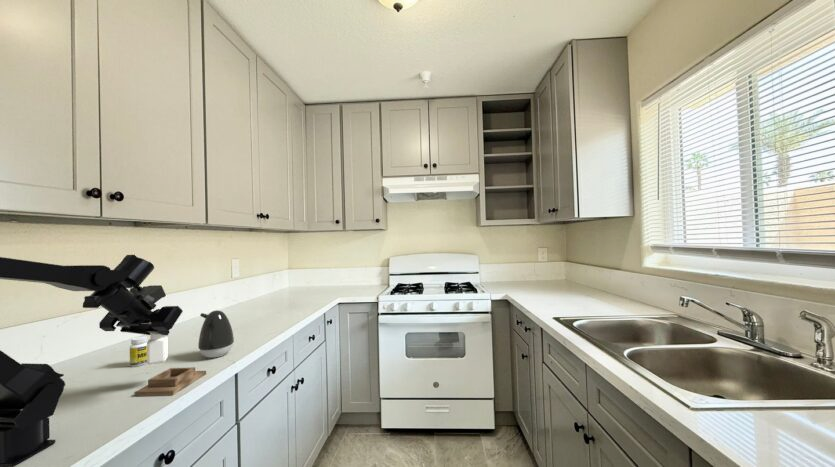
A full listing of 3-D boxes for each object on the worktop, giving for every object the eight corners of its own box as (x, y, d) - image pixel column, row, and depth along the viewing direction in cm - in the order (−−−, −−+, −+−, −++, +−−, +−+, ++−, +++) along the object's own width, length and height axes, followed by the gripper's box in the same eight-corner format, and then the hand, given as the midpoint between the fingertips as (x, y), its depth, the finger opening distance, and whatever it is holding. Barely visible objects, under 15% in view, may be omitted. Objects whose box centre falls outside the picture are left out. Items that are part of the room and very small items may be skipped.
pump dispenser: (212, 349, 111) (211, 307, 111) (240, 349, 111) (239, 306, 111) (190, 361, 101) (189, 314, 101) (221, 360, 100) (220, 314, 100)
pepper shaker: (165, 362, 85) (165, 327, 85) (146, 365, 83) (146, 329, 83) (168, 357, 88) (167, 324, 88) (149, 360, 86) (149, 326, 86)
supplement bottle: (137, 367, 97) (137, 340, 97) (125, 366, 98) (125, 340, 98) (153, 361, 102) (152, 335, 102) (142, 360, 103) (141, 335, 103)
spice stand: (173, 395, 79) (173, 383, 79) (134, 396, 79) (134, 384, 79) (206, 374, 91) (206, 363, 91) (172, 374, 91) (172, 364, 91)
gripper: (176, 275, 81) (208, 308, 92) (110, 277, 83) (150, 309, 94) (148, 313, 73) (187, 344, 84) (76, 314, 75) (123, 344, 86)
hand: (162, 334), depth 87 cm, fingers closed on pepper shaker, 3 cm apart
